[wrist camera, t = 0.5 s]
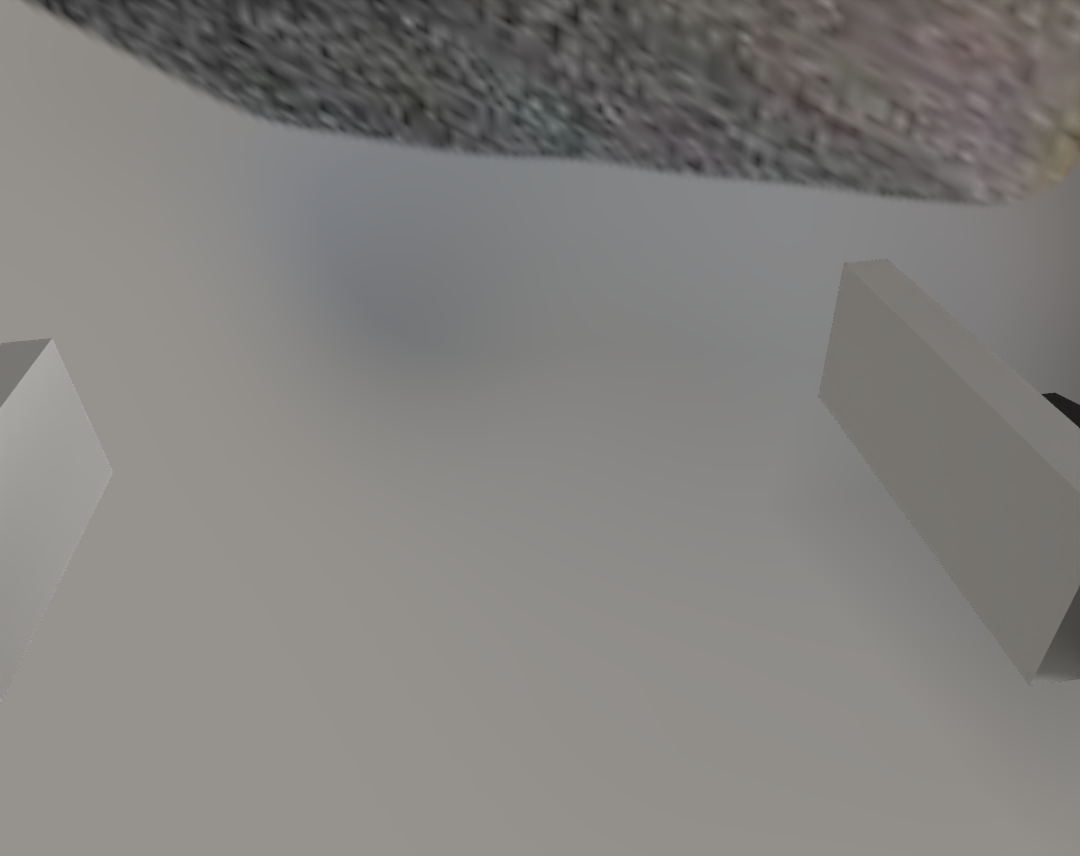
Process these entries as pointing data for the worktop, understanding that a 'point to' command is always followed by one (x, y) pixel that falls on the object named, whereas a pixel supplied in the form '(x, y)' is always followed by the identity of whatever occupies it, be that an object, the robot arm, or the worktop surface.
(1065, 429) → the robot arm
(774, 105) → the worktop surface
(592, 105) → the worktop surface
